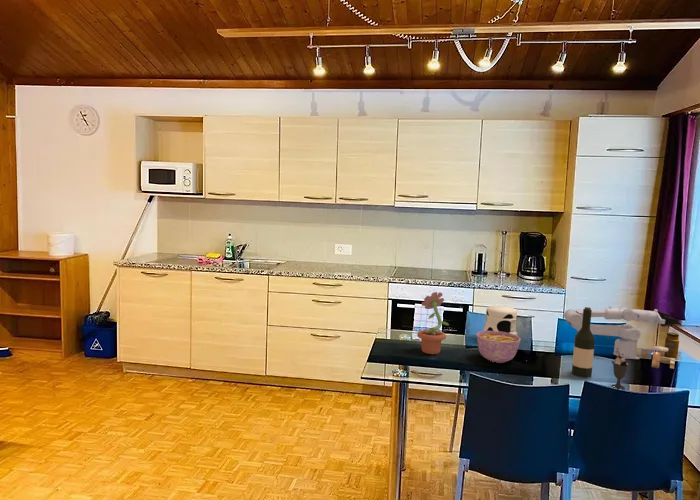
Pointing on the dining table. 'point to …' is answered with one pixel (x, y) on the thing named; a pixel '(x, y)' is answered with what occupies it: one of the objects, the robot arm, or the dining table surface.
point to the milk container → (501, 319)
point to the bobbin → (661, 350)
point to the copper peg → (656, 359)
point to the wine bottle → (583, 348)
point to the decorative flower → (431, 336)
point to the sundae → (619, 370)
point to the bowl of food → (497, 345)
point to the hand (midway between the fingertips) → (673, 319)
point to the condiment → (672, 345)
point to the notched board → (668, 361)
